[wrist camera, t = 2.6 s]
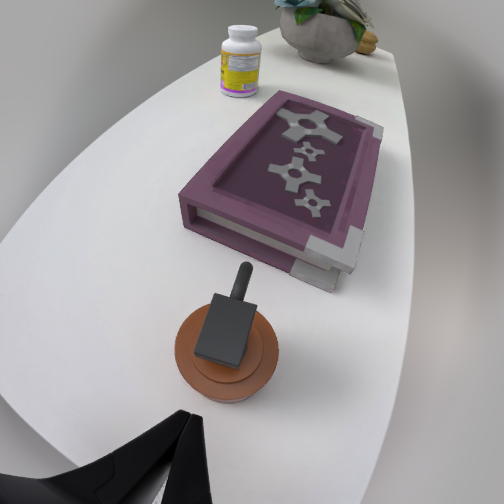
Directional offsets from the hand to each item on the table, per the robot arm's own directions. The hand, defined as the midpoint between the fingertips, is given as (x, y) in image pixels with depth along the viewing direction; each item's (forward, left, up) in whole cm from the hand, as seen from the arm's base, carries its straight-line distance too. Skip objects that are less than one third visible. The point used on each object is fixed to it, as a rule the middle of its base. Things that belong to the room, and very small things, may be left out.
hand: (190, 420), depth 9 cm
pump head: (+5, -3, -4) cm, 7 cm away
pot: (+84, -65, -13) cm, 107 cm away
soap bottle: (+4, -2, -13) cm, 14 cm away
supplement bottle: (+47, -14, -13) cm, 51 cm away
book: (+22, -16, -13) cm, 30 cm away
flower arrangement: (+68, -40, -13) cm, 80 cm away
